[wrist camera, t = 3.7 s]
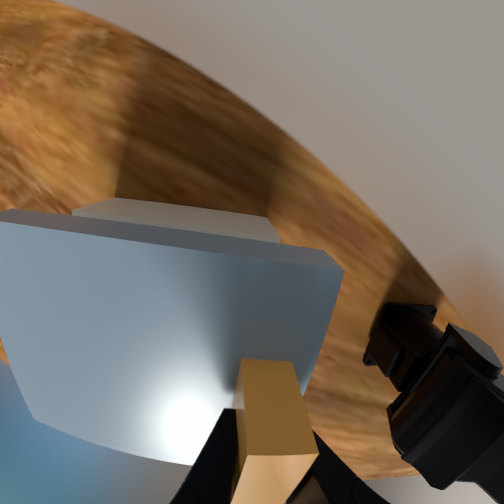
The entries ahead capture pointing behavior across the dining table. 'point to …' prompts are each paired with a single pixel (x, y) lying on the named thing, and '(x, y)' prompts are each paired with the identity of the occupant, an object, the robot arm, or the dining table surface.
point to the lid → (167, 339)
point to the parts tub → (182, 218)
